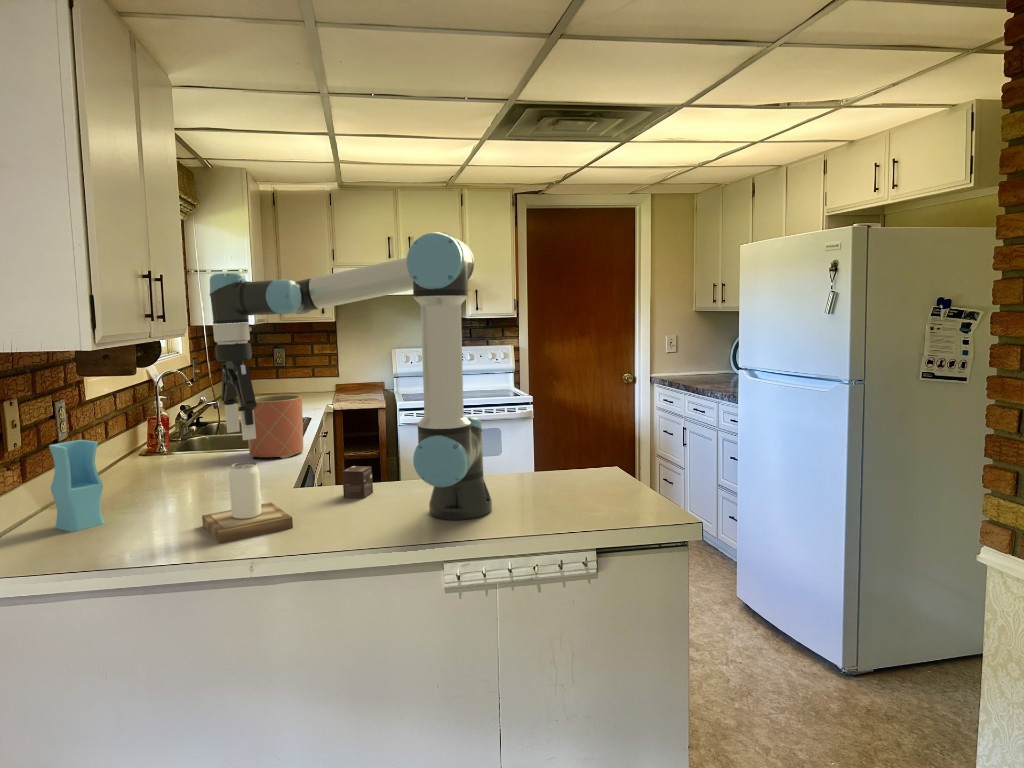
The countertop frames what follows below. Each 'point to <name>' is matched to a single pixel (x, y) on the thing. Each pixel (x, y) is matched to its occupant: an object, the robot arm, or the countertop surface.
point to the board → (246, 523)
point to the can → (245, 490)
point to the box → (357, 482)
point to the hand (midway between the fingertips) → (241, 435)
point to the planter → (277, 426)
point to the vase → (76, 485)
